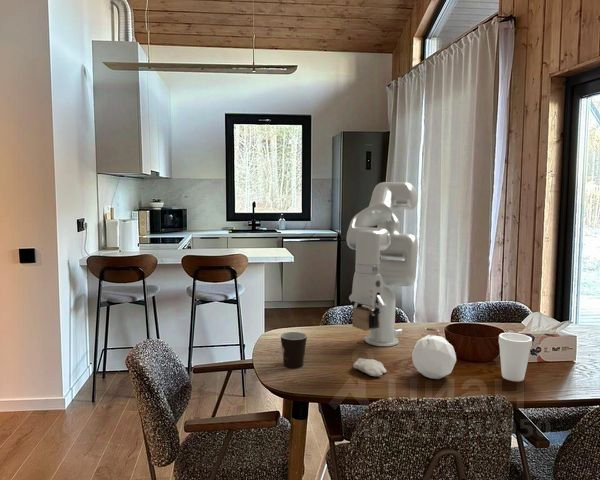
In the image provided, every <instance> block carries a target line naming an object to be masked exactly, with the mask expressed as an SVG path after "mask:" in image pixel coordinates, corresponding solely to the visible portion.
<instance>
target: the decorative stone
mask: <svg viewBox="0 0 600 480" xmlns="http://www.w3.org/2000/svg"><path fill="white" fill-rule="evenodd" d="M352 366H353V367H352V368H354V369H355V370H359V371H360V372H362V373H365V374H367V375H369V376H372V377H380V376H382V375H383V374H386V373H387V369H386V368H385V367H384V364H383V363H382V362H381V361H379V360H377V359H373V358H372V359H367V358H361V357H360V358H358V359H357V360H356V361H355V362H354V363H353V364H352Z"/></svg>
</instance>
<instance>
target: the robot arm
mask: <svg viewBox="0 0 600 480" xmlns="http://www.w3.org/2000/svg"><path fill="white" fill-rule="evenodd" d="M418 195H419V194H418V192H417V189H416V188H415V187H414V185H413V184H411V183H410V182H404V181H402V182H401V181H393V182H392V181H383V182H382V181H381V182H379V183H378V184H376V185H375V187H374V189H373V191H372V194H371V197H370V202H369V205H368V207H365V208H364V209H362V210H361V211H359V212H358V213H356V214H355V215H354V216H353V217H352V218H351V220H350V223H349V226H348V229H347V232H346V239H345V240H346V245H347V246H348V248H349V249H352V250H355V266H354V267H355V270H354V274H353V278H352V279H353V280H352V288H351V293H350V295H349V297H348V300H349V301H350V303H351V306H352V309H353V308H356V307H361V306H369V309H370V313H371V315H370V317H369V328H375V327H377V326H378V315H379V314H380V320H379V328H376V329H371V330H368V334H367V335H366V336H365V338H364V341H365V343H367V344H368V345H372V346H376V347H394V346H396V345H398V344H399V339H398V337H397V336H398V335H401V334H402V333H403V332H404V331H403V329H402V328H397V329H396V328H395V326H396V325H395V324H396V323H395V322H396V295H395V293H394V291H393V290H392V288H391V287H392V286H395V287H397V286H398V287H412V286H414V284H415V281H416V277H417V265H418V264H417V263H418V252H419V244H418V239H417V237H416V236H415V235H413V234H411V233H400V226H401V225H400V224H401V223H400V220H399V219H398V217H397V216H396V214H395V213H394V210H413V209H415V208H416V206H417V204H418V201H419V199H418V198H419V197H418ZM374 226H377V227H374ZM381 258H389V259H381ZM396 259H397V260H396ZM398 259H402V260H398ZM373 308H375V310H374V309H373Z"/></svg>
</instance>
